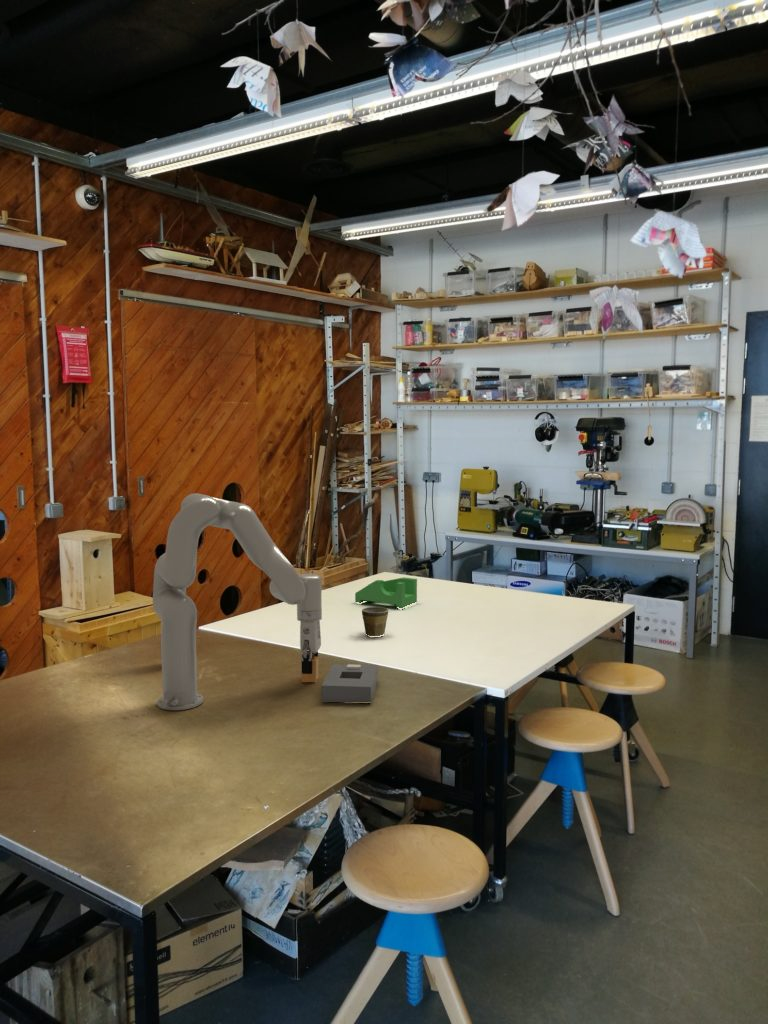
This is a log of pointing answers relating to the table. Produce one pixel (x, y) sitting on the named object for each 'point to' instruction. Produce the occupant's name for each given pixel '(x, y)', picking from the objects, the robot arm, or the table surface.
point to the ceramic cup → (375, 620)
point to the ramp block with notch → (390, 592)
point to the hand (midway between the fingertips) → (310, 668)
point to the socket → (350, 683)
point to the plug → (314, 675)
